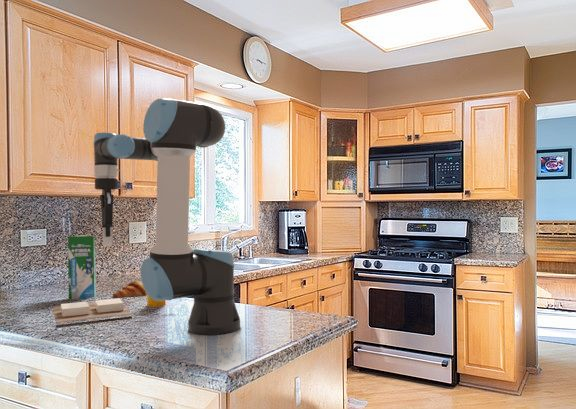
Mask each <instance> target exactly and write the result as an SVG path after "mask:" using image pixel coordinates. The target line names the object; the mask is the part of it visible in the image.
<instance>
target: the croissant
mask: <svg viewBox="0 0 576 409" xmlns="http://www.w3.org/2000/svg"><path fill="white" fill-rule="evenodd" d="M140 296H147V293H146V291H145V289H144V286H143V283H142V281H137V280H135V281H130V282H129V283H128V284H126V286H124V287H122V289H120V290H118V291H116V292H115V293H113V294H112V298H115V299H117V298H130V297H131V298H132V297H140Z"/></svg>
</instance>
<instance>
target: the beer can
mask: <svg viewBox="0 0 576 409" xmlns="http://www.w3.org/2000/svg"><path fill="white" fill-rule="evenodd" d="M146 300H147V304H146V305H147V307H149V308H159V307H164V306H166V303H167V302H166V300H162V301H156V300H153V299H152V298H150V297H149V295H148V294H147V295H146Z"/></svg>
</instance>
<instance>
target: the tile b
mask: <svg viewBox="0 0 576 409" xmlns="http://www.w3.org/2000/svg"><path fill="white" fill-rule="evenodd" d="M94 303H95V309H96V310H97V312H98V313H105V312H114V311H122V310H124V306H125V302H124V301H122V299H121V297H118V298H108V299H98V300H97V299H96V300H95V301H94Z"/></svg>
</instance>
